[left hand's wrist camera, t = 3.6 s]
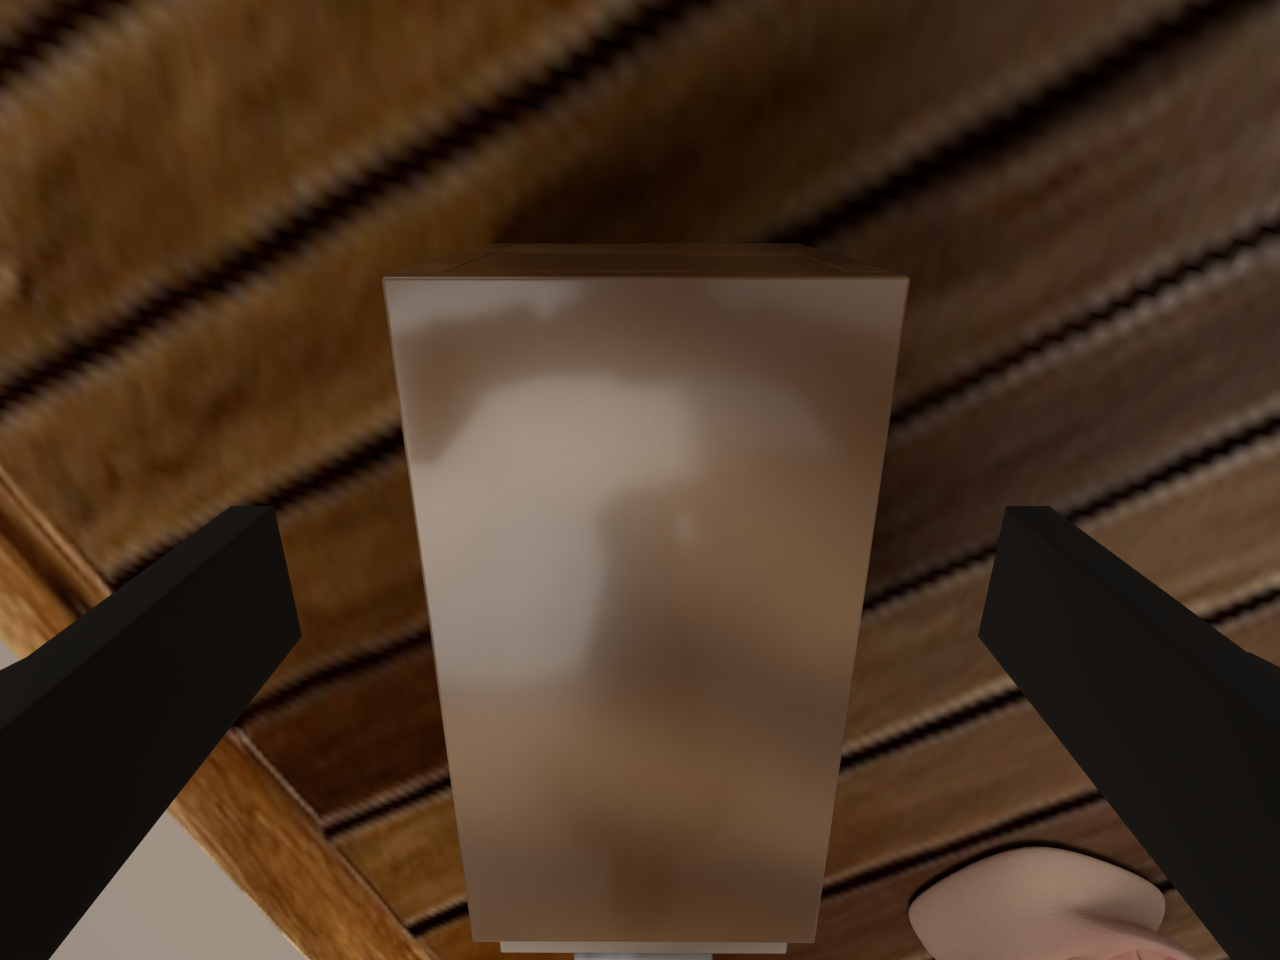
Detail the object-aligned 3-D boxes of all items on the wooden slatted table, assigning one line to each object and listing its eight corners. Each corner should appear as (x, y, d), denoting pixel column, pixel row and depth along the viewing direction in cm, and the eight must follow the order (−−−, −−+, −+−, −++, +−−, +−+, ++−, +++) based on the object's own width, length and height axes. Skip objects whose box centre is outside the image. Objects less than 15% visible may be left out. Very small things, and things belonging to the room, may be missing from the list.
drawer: (742, 839, 36) (775, 1048, 27) (543, 838, 36) (511, 1046, 27) (781, 342, 26) (851, 416, 17) (507, 341, 26) (438, 415, 17)
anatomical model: (897, 1005, 36) (1061, 876, 32) (874, 930, 40) (1018, 806, 36) (1077, 1088, 39) (1247, 978, 35) (1039, 1011, 42) (1189, 903, 39)
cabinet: (760, 708, 34) (815, 944, 23) (526, 707, 34) (472, 943, 23) (799, 243, 26) (912, 276, 15) (489, 243, 26) (379, 275, 15)
